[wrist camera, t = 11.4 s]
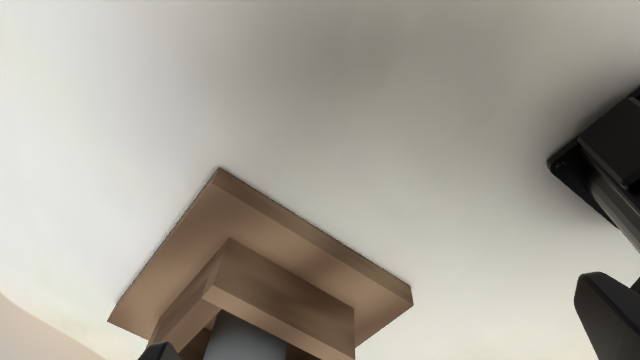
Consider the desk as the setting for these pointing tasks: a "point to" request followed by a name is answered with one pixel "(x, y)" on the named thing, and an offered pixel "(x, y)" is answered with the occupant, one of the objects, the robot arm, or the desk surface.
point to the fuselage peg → (242, 341)
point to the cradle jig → (258, 280)
